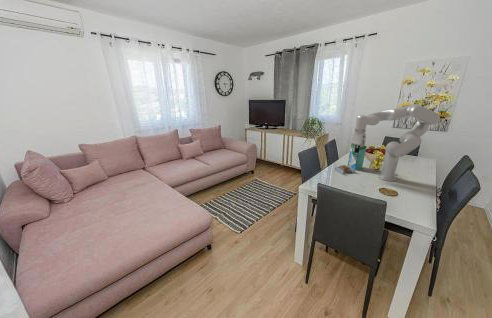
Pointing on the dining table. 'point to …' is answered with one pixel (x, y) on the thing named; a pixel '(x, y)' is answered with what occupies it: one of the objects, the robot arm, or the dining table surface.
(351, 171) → the bay
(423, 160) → the dining table surface
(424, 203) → the dining table surface
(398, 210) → the dining table surface
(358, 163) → the milk carton
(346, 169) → the block
